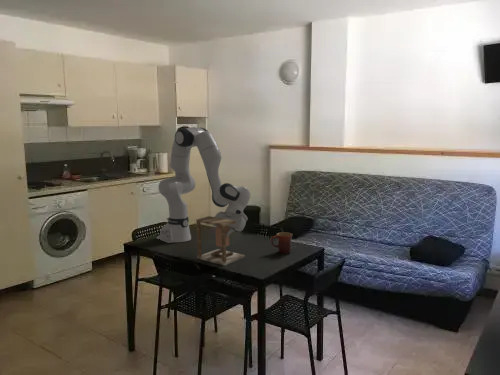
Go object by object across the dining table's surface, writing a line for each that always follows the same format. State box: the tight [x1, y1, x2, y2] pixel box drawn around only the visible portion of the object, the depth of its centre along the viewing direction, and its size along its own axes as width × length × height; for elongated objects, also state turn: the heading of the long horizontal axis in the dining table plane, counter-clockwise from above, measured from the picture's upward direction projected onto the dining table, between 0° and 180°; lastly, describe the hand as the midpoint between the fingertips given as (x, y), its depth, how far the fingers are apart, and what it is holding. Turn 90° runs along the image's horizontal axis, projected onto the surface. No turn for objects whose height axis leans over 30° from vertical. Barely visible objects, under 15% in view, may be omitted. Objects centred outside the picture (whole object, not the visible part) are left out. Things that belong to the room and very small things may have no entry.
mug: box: [270, 231, 293, 255], centre depth 233 cm, size 12×9×10 cm
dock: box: [195, 215, 246, 266], centre depth 225 cm, size 19×16×21 cm
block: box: [214, 226, 230, 248], centre depth 226 cm, size 5×5×10 cm
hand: (221, 234), depth 225 cm, fingers closed on block, 5 cm apart
